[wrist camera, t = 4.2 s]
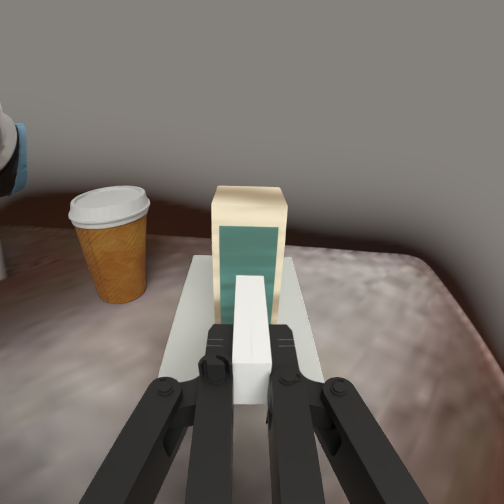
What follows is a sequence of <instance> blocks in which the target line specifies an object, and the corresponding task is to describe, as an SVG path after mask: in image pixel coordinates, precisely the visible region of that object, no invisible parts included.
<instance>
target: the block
mask: <svg viewBox="0 0 504 504" xmlns="http://www.w3.org/2000/svg"><path fill="white" fill-rule="evenodd" d="M287 208H288V206H287V204H286V201H285V199H284V196H283V194H282V191H281V189H280V188H279V187H249V186H248V187H247V186H218V187H217V190H216V193H215V196H214V199H213V202H212V256H213V289H214V315H215V324H234V310H235V289H236V275H246V276H264V285H265V296H266V306H267V316H268V324H277V318H278V308H279V298H280V288H281V278H282V267H283V256H284V245H285V233H286V220H287Z"/></svg>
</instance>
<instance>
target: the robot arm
mask: <svg viewBox="0 0 504 504" xmlns="http://www.w3.org/2000/svg"><path fill="white" fill-rule="evenodd" d="M27 178H28V174H27V141H26V128H25V125H24V124H22V123H21V124H18V123H15V124H14V122H13V121H12V120H11V118H10V117H8V116H7V115H6V114H4V113H3V112H2V107H1V102H0V197H4V196H7V195H8V196H11V195H13V194H14V193H16V192H19V191H22V190H24V189H25V187H26V185H27V180H28V179H27ZM198 368H199V376H198V377H196V378H194V379H192V380H189V381H184V382H178V381H177V380H176V379H174V378H172V377H159V378H157V379H155V380H153V381H152V383H151V384H150V385H149V387H148V388H147V390H146V391H145V393H144V395H143V396H142V398H141V400H140V401H139V403H138V405H137V406H136V408H135V410H134V411H133V413H132V415H131V416H130V418H129V420H128V421H127V423H126V424H125V426H124V428H123V429H122V431H121V433H120V434H119V436H118V438H117V439H116V441H115V443H114V445H113V446H112V448H111V450H110V451H109V453H108V455H107V456H106V458H105V460H104V461H103V463H102V465H101V466H100V468H99V470H98V472H97V473H96V475H95V477H94V478H93V480H92V482H91V483H90V485H89V487H88V489H87V490H86V492H85V494H84V495H83V497H82V499H81V501H80V502H79V504H153V503H154V501H155V499H156V497H157V495H158V493H159V490H160V488H161V486H162V484H163V482H164V480H165V477H166V475H167V473H168V471H169V469H170V466H171V464H172V462H173V460H174V458H175V455H176V453H177V451H178V449H179V447H180V444H181V442H182V440H183V438H184V436H185V433H186V431H187V429H188V426H193V425H194V426H193V434H192V443H191V452H190V461H189V470H188V480H187V490H186V500H185V504H232V462H233V404H267V401H268V412H267V420H266V423H268V437H269V454H270V471H271V489H272V504H325V499H324V492H323V486H322V479H321V473H320V467H319V460H318V454H317V448H316V442H315V436H314V432H315V434H316V436H317V438H318V440H319V442H320V444H321V446H322V448H323V450H324V452H325V454H326V456H327V458H328V460H329V462H330V464H331V466H332V468H333V470H334V472H335V474H336V476H337V478H338V480H339V482H340V484H341V486H342V488H343V490H344V492H345V494H346V496H347V498H348V500H349V502H350V504H428V502H427V500H426V499H425V497H424V496H423V494H422V492H421V491H420V489H419V488H418V486H417V484H416V483H415V481H414V480H413V478H412V476H411V475H410V473H409V472H408V470H407V468H406V467H405V465H404V464H403V462H402V461H401V459H400V457H399V456H398V454H397V453H396V451H395V450H394V448H393V446H392V445H391V443H390V442H389V440H388V439H387V437H386V435H385V434H384V432H383V431H382V429H381V428H380V426H379V424H378V423H377V421H376V420H375V418H374V417H373V415H372V414H371V412H370V410H369V409H368V407H367V406H366V404H365V403H364V401H363V400H362V398H361V396H360V395H359V393H358V392H357V390H356V389H355V387H354V386H353V384H352V383H351V382H350V381H348V380H346V379H344V378H340V377H334V378H330V379H328V380H327V381H326V382H325V383H321V382H316V381H313V380H310V379H308V378H306V377H305V376H304V375H303V374H302V373H301V372H300V369H299V364H298V359H297V353H296V348H295V342H294V337H293V332H292V330H291V329H290V328H289V326H288V325H287V324H268V316H267V306H266V296H265V285H264V276H246V275H236V289H235V310H234V324H213V325H212V327H211V328H210V329H209V330H208V337H207V344H206V351H205V356H203V357H202V358H201V359H200V360H199V363H198Z"/></svg>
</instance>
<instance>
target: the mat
mask: <svg viewBox="0 0 504 504" xmlns="http://www.w3.org/2000/svg"><path fill="white" fill-rule="evenodd" d="M213 324H215V315H214V289H213V256H208V255H194V257H193V260H192V263H191V266H190V269H189V272H188V275H187V278H186V282H185V285H184V288H183V291H182V295H181V298H180V301H179V305H178V308H177V311H176V315H175V318H174V321H173V325H172V328H171V332H170V335H169V339H168V342H167V346H166V349H165V353H164V357H163V360H162V364H161V368H160V371H159V375H158V378H159V377H172V378H174V379H176V380H177V381H178V382H184V381H189V380H192V379H194V378H196V377H198V376H199V368H198V363H199V360H200V359H201V358H202V357H203V356H205V351H206V344H207V337H208V330H209V329H210V328H211V327H212V325H213ZM277 324H287V325H288V326H289V328H290V329H291V330H292V332H293V337H294V342H295V348H296V353H297V359H298V364H299V369H300V372H301V373H302V374H303V375H304V376H305V377H306V378H308V379H310V380H313V381H316V382H321V383H324V379H323V375H322V371H321V367H320V363H319V359H318V355H317V351H316V347H315V343H314V339H313V335H312V331H311V327H310V324H309V320H308V316H307V312H306V309H305V305H304V301H303V297H302V294H301V290H300V286H299V283H298V279H297V275H296V272H295V268H294V265H293V261H292V258H291V257H283V267H282V278H281V288H280V298H279V308H278V318H277Z"/></svg>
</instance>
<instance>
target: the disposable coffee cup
mask: <svg viewBox="0 0 504 504" xmlns="http://www.w3.org/2000/svg"><path fill="white" fill-rule="evenodd" d="M149 205H150V200H149V199H148V198H147V197H146V194H145V191H144V189H142V188H140V187H135V186H114V187H106V188H101V189H96V190H92V191H89V192H86V193H84V194H81V195H79V196H77V197H76V198H74V199H73V200H72V201H71V209H70V212H69V214H68V215H69V219H70V220H71V221H72V224H73V225H74V226H75V229H76V232H77V235H78V239H79V242H80V245H81V248H82V251H83V254H84V257H85V259H86V262H87V265H88V268H89V271H90V273H91V276H92V279H93V281H94V284H95V287H96V289H97V292H98V294H99V297H100V298H101V299H102V300H103V301H105V302H108V303H114V304H118V303H126V302H130V301H132V300H134V299H136V298H138V297H140V296H141V295H142V294H143V293H144V292H145V290H146V213H147V211H148V207H149Z"/></svg>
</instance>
